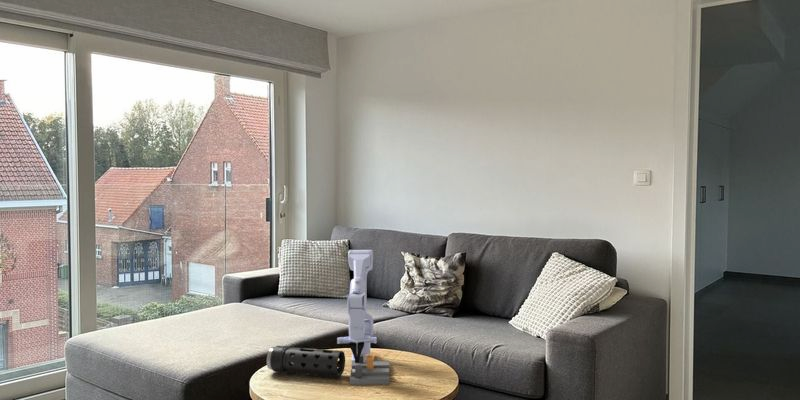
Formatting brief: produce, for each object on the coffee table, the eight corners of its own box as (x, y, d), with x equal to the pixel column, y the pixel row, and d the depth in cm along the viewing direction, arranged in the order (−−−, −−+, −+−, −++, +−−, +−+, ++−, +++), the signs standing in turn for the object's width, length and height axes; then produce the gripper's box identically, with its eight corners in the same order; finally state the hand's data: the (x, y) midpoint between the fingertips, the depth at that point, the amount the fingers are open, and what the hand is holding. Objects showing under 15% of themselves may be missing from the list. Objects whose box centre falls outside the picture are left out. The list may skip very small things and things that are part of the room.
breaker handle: (366, 367, 227) (366, 354, 227) (374, 367, 227) (374, 354, 227) (366, 371, 223) (365, 357, 223) (374, 371, 223) (374, 357, 223)
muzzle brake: (336, 383, 218) (336, 354, 217) (265, 377, 225) (265, 349, 224) (345, 374, 227) (345, 346, 226) (277, 368, 234) (276, 342, 233)
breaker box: (352, 366, 235) (352, 352, 235) (388, 366, 235) (388, 352, 235) (350, 384, 215) (349, 369, 215) (389, 384, 215) (389, 369, 215)
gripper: (336, 329, 220) (336, 366, 221) (376, 328, 220) (376, 365, 221) (337, 324, 227) (338, 360, 228) (376, 323, 227) (376, 359, 228)
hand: (357, 362), depth 225 cm, fingers closed
